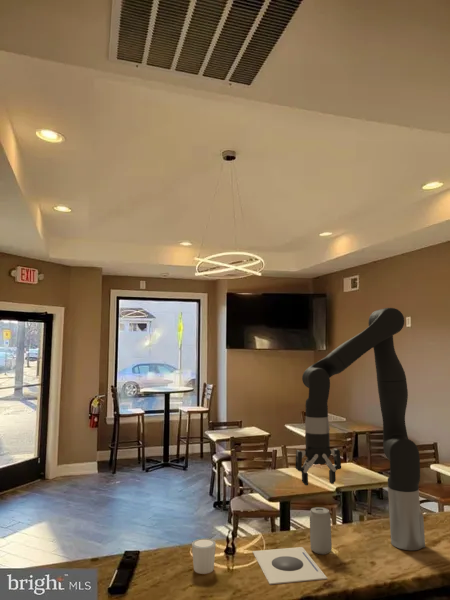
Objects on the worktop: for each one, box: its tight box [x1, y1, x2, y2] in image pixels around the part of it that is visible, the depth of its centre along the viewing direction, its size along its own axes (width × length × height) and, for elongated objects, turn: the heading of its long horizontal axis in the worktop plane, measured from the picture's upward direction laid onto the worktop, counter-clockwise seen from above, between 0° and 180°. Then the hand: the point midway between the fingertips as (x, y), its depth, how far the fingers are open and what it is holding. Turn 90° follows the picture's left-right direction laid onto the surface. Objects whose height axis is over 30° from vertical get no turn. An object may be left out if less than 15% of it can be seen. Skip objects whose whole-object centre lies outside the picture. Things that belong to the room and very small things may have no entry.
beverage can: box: [309, 506, 333, 555], centre depth 138 cm, size 6×6×12 cm
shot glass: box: [191, 538, 217, 575], centre depth 127 cm, size 7×7×7 cm
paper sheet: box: [252, 546, 328, 585], centre depth 129 cm, size 16×20×1 cm
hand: (318, 484), depth 140 cm, fingers open, 8 cm apart
